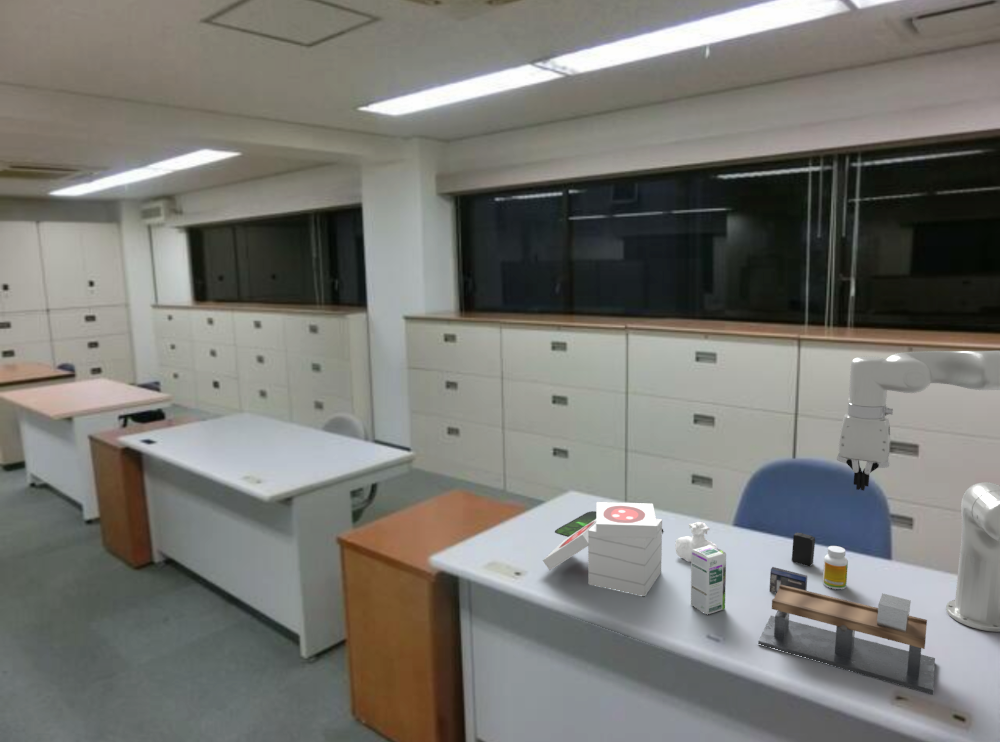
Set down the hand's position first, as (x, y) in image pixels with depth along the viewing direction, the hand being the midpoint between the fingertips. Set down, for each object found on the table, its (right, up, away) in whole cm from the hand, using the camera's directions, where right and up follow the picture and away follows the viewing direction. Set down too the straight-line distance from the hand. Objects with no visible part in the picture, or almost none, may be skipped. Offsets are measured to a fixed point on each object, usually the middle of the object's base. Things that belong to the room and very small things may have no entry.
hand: (860, 488), depth 157 cm
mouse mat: (-50, -22, +51) cm, 75 cm away
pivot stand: (-11, -32, -14) cm, 37 cm away
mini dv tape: (-13, -28, +10) cm, 33 cm away
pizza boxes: (-56, -27, +23) cm, 66 cm away
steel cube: (-5, -24, -21) cm, 32 cm away
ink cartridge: (-2, -25, +27) cm, 37 cm away
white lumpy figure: (-29, -25, +31) cm, 49 cm away
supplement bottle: (+1, -27, +14) cm, 31 cm away
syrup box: (-34, -30, +5) cm, 45 cm away
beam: (-11, -25, -16) cm, 31 cm away
